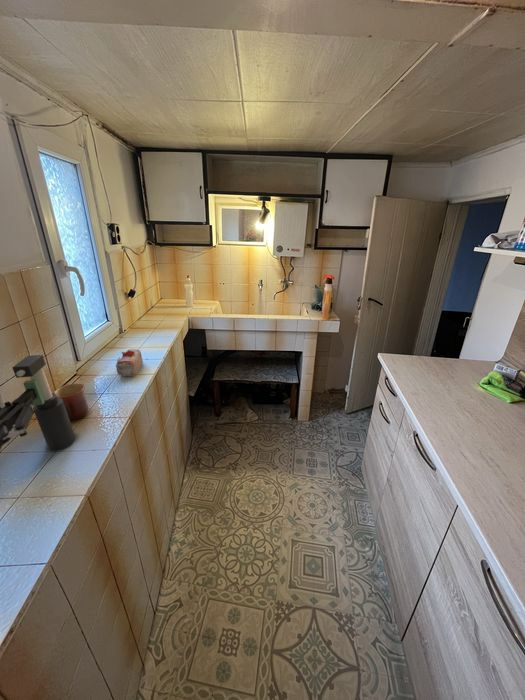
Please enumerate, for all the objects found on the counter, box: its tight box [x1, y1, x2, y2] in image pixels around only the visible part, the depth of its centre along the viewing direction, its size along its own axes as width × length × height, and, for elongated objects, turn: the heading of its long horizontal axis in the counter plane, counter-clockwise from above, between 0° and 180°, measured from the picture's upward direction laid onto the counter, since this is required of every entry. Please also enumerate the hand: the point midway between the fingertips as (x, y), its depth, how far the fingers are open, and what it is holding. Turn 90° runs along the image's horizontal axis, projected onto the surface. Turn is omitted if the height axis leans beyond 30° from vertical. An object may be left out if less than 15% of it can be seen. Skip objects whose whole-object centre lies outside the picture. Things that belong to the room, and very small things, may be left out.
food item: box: [115, 348, 144, 377], centre depth 126 cm, size 14×8×10 cm, turn 6°
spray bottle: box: [12, 354, 76, 451], centre depth 79 cm, size 10×7×28 cm
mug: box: [53, 382, 89, 421], centre depth 97 cm, size 12×9×10 cm
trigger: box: [22, 379, 45, 407], centre depth 75 cm, size 1×3×7 cm, turn 101°
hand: (32, 393), depth 74 cm, fingers closed
